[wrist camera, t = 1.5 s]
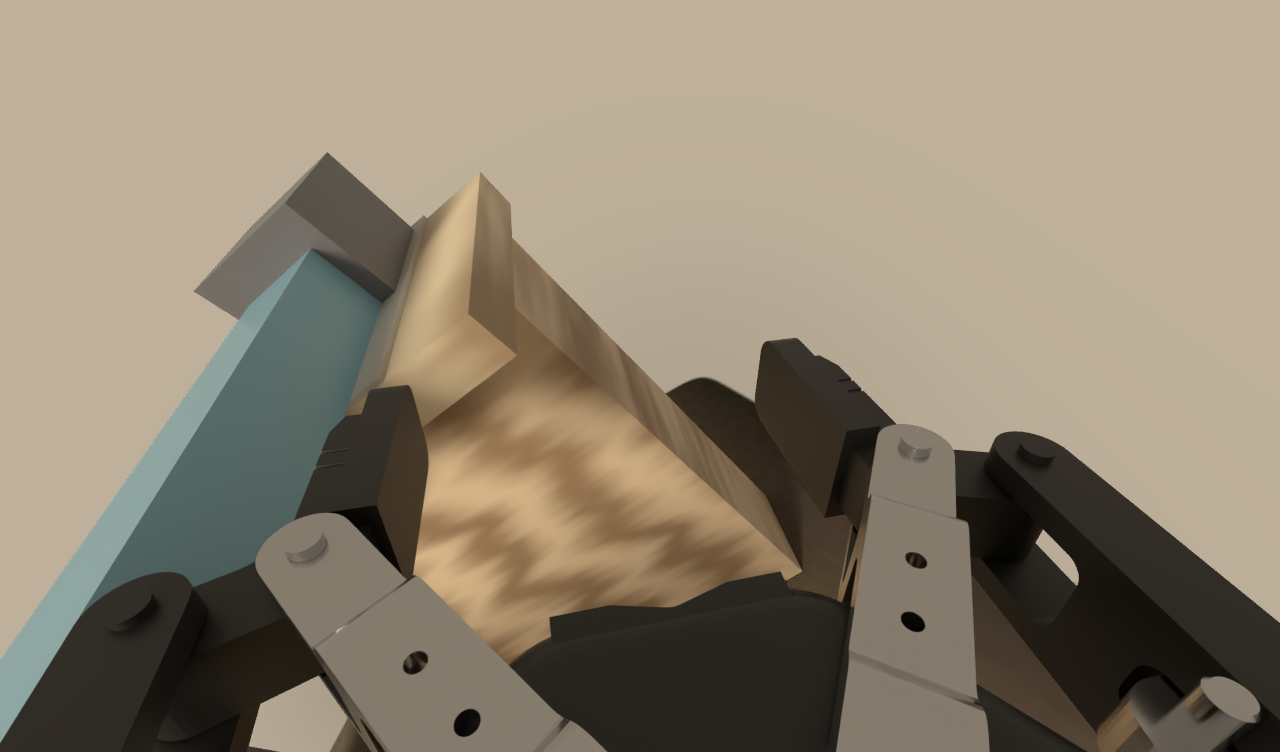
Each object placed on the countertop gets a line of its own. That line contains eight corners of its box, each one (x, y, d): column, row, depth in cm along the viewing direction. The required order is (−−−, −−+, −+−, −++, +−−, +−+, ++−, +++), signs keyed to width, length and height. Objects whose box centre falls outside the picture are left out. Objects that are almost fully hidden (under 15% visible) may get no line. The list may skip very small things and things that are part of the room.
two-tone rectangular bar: (75, 880, 10) (-321, 867, 7) (342, 293, 27) (252, 226, 24) (250, 770, 9) (-142, 708, 6) (414, 230, 26) (327, 152, 23)
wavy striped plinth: (540, 800, 41) (-18, 699, 22) (531, 630, 51) (146, 460, 32) (853, 640, 35) (462, 309, 16) (773, 484, 45) (476, 168, 26)
